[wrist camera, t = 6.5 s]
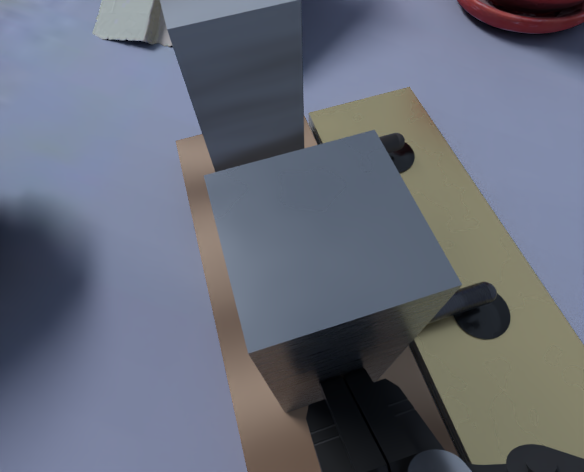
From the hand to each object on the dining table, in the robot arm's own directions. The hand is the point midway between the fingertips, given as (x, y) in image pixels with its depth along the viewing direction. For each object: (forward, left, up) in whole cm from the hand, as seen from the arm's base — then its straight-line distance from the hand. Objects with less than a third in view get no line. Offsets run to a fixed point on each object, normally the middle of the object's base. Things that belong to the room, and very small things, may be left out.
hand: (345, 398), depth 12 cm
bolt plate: (+5, -7, -6) cm, 11 cm away
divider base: (+4, -1, -6) cm, 7 cm away
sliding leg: (+3, -3, -4) cm, 6 cm away
